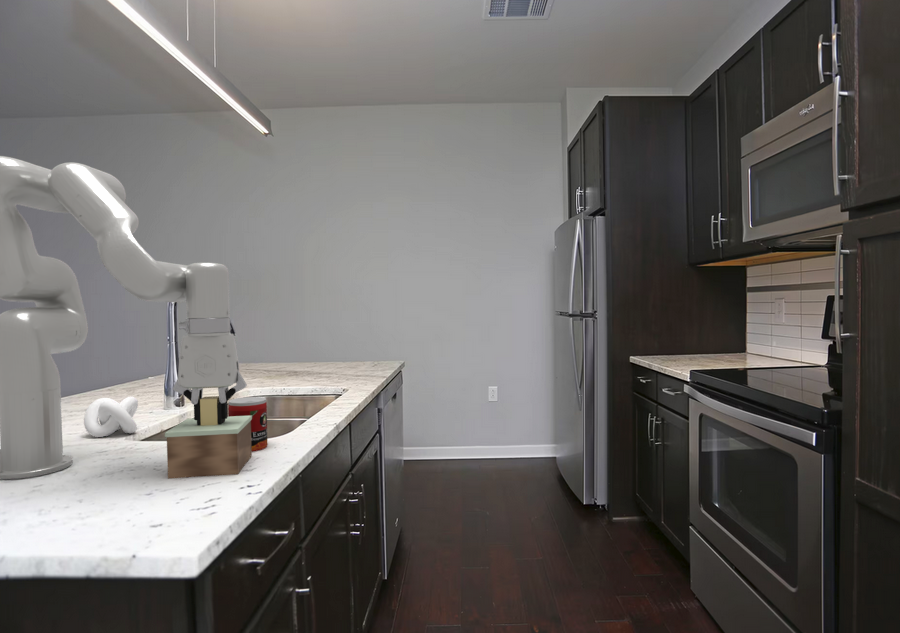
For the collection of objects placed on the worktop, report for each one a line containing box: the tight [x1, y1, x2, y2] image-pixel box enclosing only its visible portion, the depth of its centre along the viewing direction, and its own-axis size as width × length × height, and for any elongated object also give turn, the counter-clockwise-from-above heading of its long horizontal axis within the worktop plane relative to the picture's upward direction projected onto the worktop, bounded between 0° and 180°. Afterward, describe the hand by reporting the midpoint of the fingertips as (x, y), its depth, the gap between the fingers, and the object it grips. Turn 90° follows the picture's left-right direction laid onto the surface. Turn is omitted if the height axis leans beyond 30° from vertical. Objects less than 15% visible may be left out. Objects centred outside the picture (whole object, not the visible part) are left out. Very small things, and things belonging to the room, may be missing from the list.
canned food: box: [228, 396, 268, 453], centre depth 116 cm, size 8×8×11 cm
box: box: [166, 421, 253, 480], centre depth 103 cm, size 12×12×8 cm
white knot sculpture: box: [83, 395, 139, 438], centre depth 135 cm, size 11×12×9 cm
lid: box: [164, 395, 252, 438], centre depth 103 cm, size 12×12×6 cm
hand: (211, 422), depth 103 cm, fingers closed on lid, 3 cm apart
